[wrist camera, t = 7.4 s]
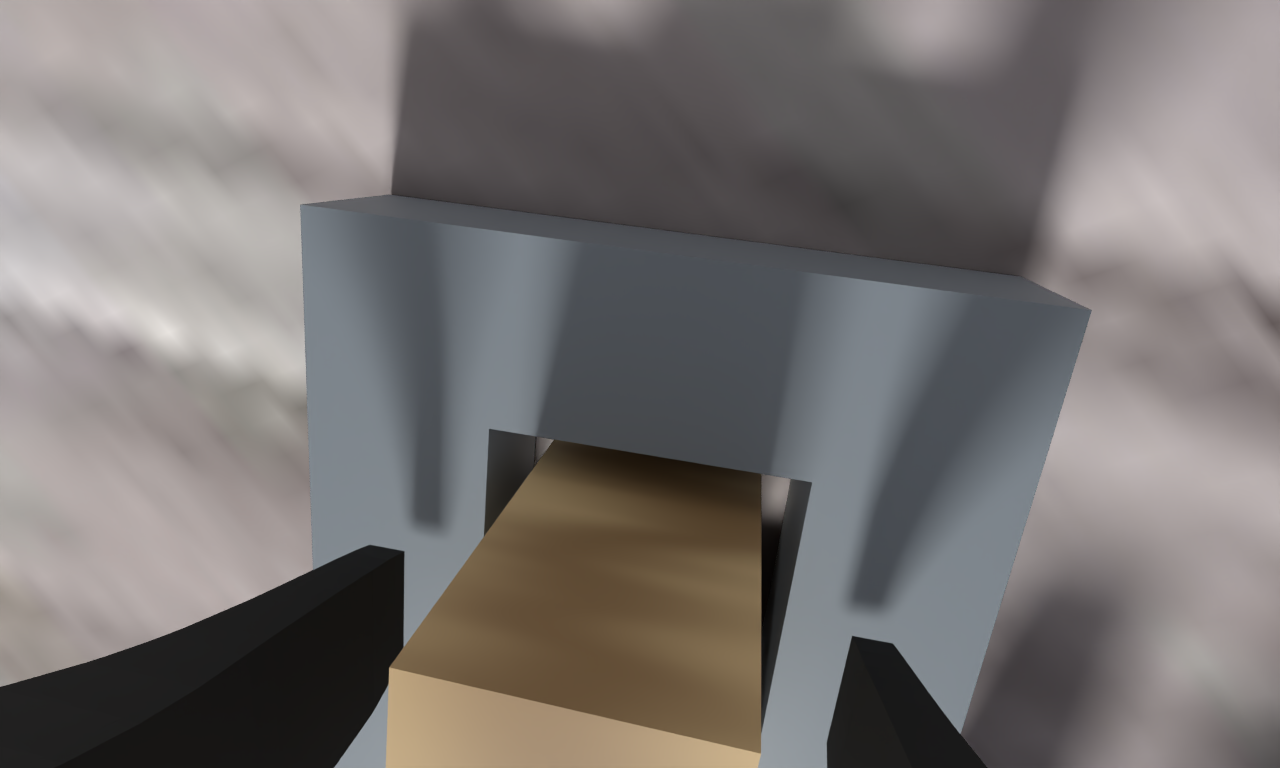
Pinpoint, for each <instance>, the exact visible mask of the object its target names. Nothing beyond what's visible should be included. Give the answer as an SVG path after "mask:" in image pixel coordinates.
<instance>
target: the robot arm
mask: <svg viewBox="0 0 1280 768" xmlns="http://www.w3.org/2000/svg"><path fill="white" fill-rule="evenodd" d="M404 558H405V551H401V550H396V549H390V548H385V547H380V546H374V545H367V546H365V547H362V548H360V549H357V550H355V551H353V552H350V553H348V554H346V555H344V556H342V557H339V558H337V559H335V560H333V561H331V562H329V563H327V564H325V565H323V566H320V567H318V568H316V569H314V570H312V571H310V572H308V573H306V574H304V575H302V576H300V577H297V578H295V579H293V580H291V581H289V582H287V583H285V584H283V585H280V586H278V587H276V588H274V589H272V590H270V591H268V592H266V593H264V594H261V595H259V596H257V597H255V598H253V599H251V600H248V601H246V602H244V603H241V604H239V605H237V606H234V607H232V608H230V609H227V610H225V611H223V612H220V613H218V614H216V615H213V616H211V617H209V618H206V619H204V620H202V621H199V622H197V623H195V624H192V625H190V626H188V627H185V628H183V629H180V630H178V631H175V632H173V633H170V634H167V635H165V636H162V637H159V638H157V639H154V640H151V641H149V642H146V643H143V644H140V645H137V646H134V647H132V648H129V649H126V650H123V651H120V652H117V653H114V654H111V655H108V656H105V657H102V658H99V659H96V660H93V661H90V662H87V663H83V664H80V665H76V666H73V667H69V668H66V669H62V670H59V671H55V672H52V673H48V674H45V675H41V676H38V677H34V678H31V679H27V680H24V681H20V682H17V683H13V684H10V685H6V686H2V687H0V768H334V767H335V766H336V765H337V763H338V762H339V760H340V759H341V758H342V756H343V755H344V753H345V752H346V750H347V749H348V748H349V746H350V745H351V743H352V742H353V740H354V739H355V738H356V736H357V735H358V733H359V732H360V731H361V729H362V728H363V726H364V725H365V723H366V722H367V720H368V719H369V718H370V716H371V715H372V713H373V712H374V710H375V708H376V706H377V705H378V703H379V701H380V699H381V697H382V695H383V694H384V692H385V690H386V688H387V686H388V685H389V667H390V666H391V664H392V663H393V662H394V660H395V659H396V657H397V656H398V655H399V653H400V652H401V651H402V649H403V648H404ZM827 768H987V767H986V766H985V764H984V763H983V762H982V761H981V760H980V758H979V757H978V756H977V755H976V753H975V752H974V751H973V750H972V748H971V747H970V746H969V745H968V743H967V742H966V741H965V740H964V738H963V737H962V736H961V734H960V733H959V732H958V731H957V729H956V728H955V727H954V726H953V724H952V723H951V722H950V720H949V719H948V718H947V716H946V715H945V714H944V712H943V711H942V710H941V708H940V707H939V706H938V704H937V703H936V702H935V700H934V699H933V697H932V696H931V695H930V693H929V692H928V691H927V689H926V688H925V687H924V685H923V684H922V682H921V681H920V680H919V678H918V677H917V675H916V674H915V673H914V671H913V670H912V669H911V667H910V666H909V664H908V663H907V662H906V660H905V659H904V657H903V656H902V655H901V653H900V652H899V651H898V649H897V648H896V647H895V645H894V644H893V643H888V642H883V641H877V640H872V639H867V638H861V637H856V636H852V638H851V642H850V647H849V651H848V655H847V659H846V663H845V668H844V672H843V676H842V680H841V684H840V688H839V693H838V697H837V701H836V705H835V709H834V714H833V718H832V722H831V726H830V730H829V735H828V739H827Z"/></svg>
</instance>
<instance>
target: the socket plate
mask: <svg viewBox="0 0 1280 768" xmlns="http://www.w3.org/2000/svg"><path fill="white" fill-rule="evenodd" d="M300 210H301V239H302V268H303V297H304V325H305V354H306V383H307V411H308V440H309V469H310V497H311V526H312V555H313V570H314V569H316V568H318V567H320V566H323V565H325V564H327V563H329V562H331V561H333V560H335V559H337V558H339V557H342V556H344V555H346V554H348V553H350V552H353V551H355V550H357V549H360V548H362V547H365V546H367V545H374V546H380V547H385V548H390V549H396V550H401V551H405V558H404V646H405V645H406V644H407V642H408V641H409V639H410V638H411V637H412V635H413V634H414V633H415V631H416V630H417V628H418V627H419V626H420V624H421V623H422V622H423V620H424V619H425V617H426V616H427V615H428V613H429V612H430V610H431V609H432V608H433V606H434V605H435V604H436V602H437V601H438V599H439V598H440V597H441V595H442V594H443V593H444V591H445V590H446V588H447V587H448V586H449V584H450V583H451V581H452V580H453V579H454V577H455V576H456V575H457V573H458V572H459V570H460V569H461V568H462V566H463V565H464V564H465V562H466V561H467V559H468V558H469V557H470V555H471V554H472V552H473V551H474V550H475V548H476V547H477V546H478V544H479V543H480V541H481V540H482V539H483V537H484V536H485V535H486V533H487V532H488V530H489V529H490V528H491V526H492V525H493V524H494V522H495V521H496V519H497V518H498V517H499V515H500V514H501V512H502V511H503V510H504V508H505V507H506V506H507V504H508V503H509V501H510V500H511V499H512V497H513V496H514V495H515V493H516V492H517V490H518V489H519V488H520V486H521V485H522V483H523V482H524V481H525V479H526V478H527V477H528V475H529V474H530V472H531V471H532V470H533V468H534V453H535V439H536V437H542V438H549V439H555V440H561V441H567V442H573V443H579V444H585V445H591V446H597V447H603V448H609V449H615V450H621V451H627V452H633V453H639V454H645V455H651V456H657V457H663V458H669V459H675V460H681V461H687V462H693V463H699V464H705V465H711V466H717V467H723V468H729V469H735V470H741V471H747V472H753V473H759V474H765V475H771V476H777V477H783V478H789V479H791V482H790V488H789V493H788V498H787V503H786V508H785V514H784V519H783V524H782V529H781V534H780V540H779V545H778V550H777V555H776V560H775V566H774V571H773V576H772V581H771V586H770V592H769V597H768V602H767V607H766V612H765V618H764V623H763V628H762V633H761V756H760V760H759V765H758V768H827V739H828V735H829V730H830V726H831V722H832V718H833V714H834V709H835V705H836V701H837V697H838V693H839V688H840V684H841V680H842V676H843V672H844V668H845V663H846V659H847V655H848V651H849V647H850V642H851V638H852V636H856V637H861V638H867V639H872V640H877V641H883V642H888V643H893V644H894V645H895V647H896V648H897V649H898V651H899V652H900V653H901V655H902V656H903V657H904V659H905V660H906V662H907V663H908V664H909V666H910V667H911V669H912V670H913V671H914V673H915V674H916V675H917V677H918V678H919V680H920V681H921V682H922V684H923V685H924V687H925V688H926V689H927V691H928V692H929V693H930V695H931V696H932V697H933V699H934V700H935V702H936V703H937V704H938V706H939V707H940V708H941V710H942V711H943V712H944V714H945V715H946V716H947V718H948V719H949V720H950V722H951V723H952V724H953V726H954V727H955V728H956V729H957V731H958V732H959V733H960V734H961V731H962V728H963V725H964V721H965V718H966V715H967V712H968V708H969V705H970V702H971V699H972V696H973V692H974V689H975V686H976V683H977V679H978V676H979V673H980V670H981V666H982V663H983V660H984V657H985V653H986V650H987V647H988V644H989V641H990V637H991V634H992V631H993V628H994V624H995V621H996V618H997V615H998V611H999V608H1000V605H1001V602H1002V599H1003V595H1004V592H1005V589H1006V586H1007V582H1008V579H1009V576H1010V573H1011V569H1012V566H1013V563H1014V560H1015V557H1016V553H1017V550H1018V547H1019V544H1020V540H1021V537H1022V534H1023V531H1024V527H1025V524H1026V521H1027V518H1028V514H1029V511H1030V508H1031V505H1032V502H1033V498H1034V495H1035V492H1036V489H1037V485H1038V482H1039V479H1040V476H1041V472H1042V469H1043V466H1044V463H1045V460H1046V456H1047V453H1048V450H1049V447H1050V443H1051V440H1052V437H1053V434H1054V430H1055V427H1056V424H1057V421H1058V418H1059V414H1060V411H1061V408H1062V405H1063V401H1064V398H1065V395H1066V392H1067V388H1068V385H1069V382H1070V379H1071V375H1072V372H1073V369H1074V366H1075V363H1076V359H1077V356H1078V353H1079V350H1080V346H1081V343H1082V340H1083V337H1084V333H1085V330H1086V327H1087V324H1088V321H1089V317H1090V314H1091V311H1092V310H1090V309H1088V308H1086V307H1084V306H1082V305H1080V304H1077V303H1075V302H1073V301H1071V300H1069V299H1067V298H1065V297H1063V296H1061V295H1059V294H1057V293H1054V292H1052V291H1050V290H1048V289H1046V288H1044V287H1042V286H1040V285H1038V284H1036V283H1033V282H1031V281H1029V280H1027V279H1025V278H1023V277H1020V276H1013V275H1005V274H997V273H989V272H982V271H974V270H966V269H959V268H951V267H943V266H936V265H928V264H920V263H912V262H905V261H897V260H889V259H882V258H874V257H866V256H859V255H851V254H843V253H835V252H828V251H820V250H812V249H805V248H797V247H789V246H781V245H774V244H766V243H758V242H751V241H743V240H735V239H728V238H720V237H712V236H704V235H697V234H689V233H681V232H674V231H666V230H658V229H651V228H643V227H635V226H627V225H620V224H612V223H604V222H597V221H589V220H581V219H574V218H566V217H558V216H550V215H543V214H535V213H527V212H520V211H512V210H504V209H497V208H489V207H481V206H473V205H466V204H458V203H450V202H443V201H435V200H427V199H419V198H412V197H404V196H396V195H382V196H373V197H364V198H355V199H346V200H337V201H329V202H320V203H311V204H302V205H300ZM388 688H389V685H388V686H387V688H386V690H385V692H384V694H383V695H382V697H381V699H380V701H379V703H378V705H377V706H376V708H375V710H374V712H373V713H372V715H371V716H370V718H369V719H368V720H367V722H366V723H365V725H364V726H363V728H362V729H361V731H360V732H359V733H358V735H357V736H356V738H355V739H354V740H353V742H352V743H351V745H350V746H349V748H348V749H347V750H346V752H345V753H344V755H343V756H342V758H341V759H340V760H339V762H338V763H337V765H336V766H335V767H334V768H386V745H387V717H388Z"/></svg>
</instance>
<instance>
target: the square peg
mask: <svg viewBox="0 0 1280 768" xmlns="http://www.w3.org/2000/svg"><path fill="white" fill-rule="evenodd" d="M760 756H761V474H759V473H753V472H747V471H741V470H735V469H729V468H723V467H717V466H711V465H705V464H699V463H693V462H687V461H681V460H675V459H669V458H663V457H657V456H651V455H645V454H639V453H633V452H627V451H621V450H615V449H609V448H603V447H597V446H591V445H585V444H579V443H573V442H567V441H561V440H555V439H554V441H553V442H552V443H551V445H550V446H549V448H548V449H547V450H546V452H545V453H544V454H543V456H542V457H541V459H540V460H539V461H538V463H537V464H536V466H535V467H534V468H533V470H532V471H531V472H530V474H529V475H528V477H527V478H526V479H525V481H524V482H523V483H522V485H521V486H520V488H519V489H518V490H517V492H516V493H515V495H514V496H513V497H512V499H511V500H510V501H509V503H508V504H507V506H506V507H505V508H504V510H503V511H502V512H501V514H500V515H499V517H498V518H497V519H496V521H495V522H494V524H493V525H492V526H491V528H490V529H489V530H488V532H487V533H486V535H485V536H484V537H483V539H482V540H481V541H480V543H479V544H478V546H477V547H476V548H475V550H474V551H473V552H472V554H471V555H470V557H469V558H468V559H467V561H466V562H465V564H464V565H463V566H462V568H461V569H460V570H459V572H458V573H457V575H456V576H455V577H454V579H453V580H452V581H451V583H450V584H449V586H448V587H447V588H446V590H445V591H444V593H443V594H442V595H441V597H440V598H439V599H438V601H437V602H436V604H435V605H434V606H433V608H432V609H431V610H430V612H429V613H428V615H427V616H426V617H425V619H424V620H423V622H422V623H421V624H420V626H419V627H418V628H417V630H416V631H415V633H414V634H413V635H412V637H411V638H410V639H409V641H408V642H407V644H406V645H405V646H404V648H403V649H402V651H401V652H400V653H399V655H398V656H397V657H396V659H395V660H394V662H393V663H392V664H391V666H390V667H389V688H388V717H387V745H386V768H758V765H759V760H760Z"/></svg>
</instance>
